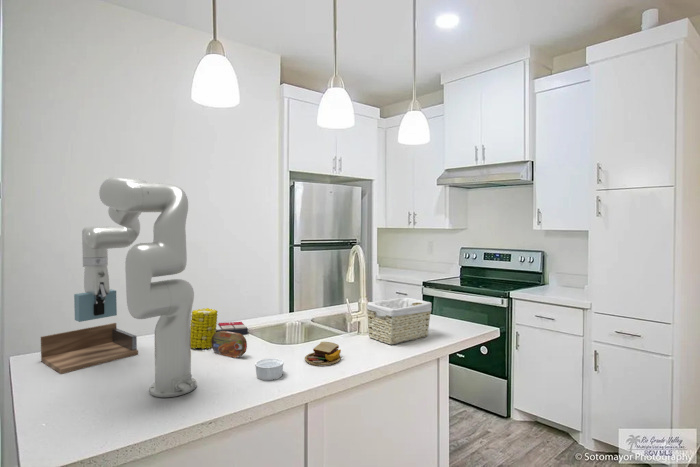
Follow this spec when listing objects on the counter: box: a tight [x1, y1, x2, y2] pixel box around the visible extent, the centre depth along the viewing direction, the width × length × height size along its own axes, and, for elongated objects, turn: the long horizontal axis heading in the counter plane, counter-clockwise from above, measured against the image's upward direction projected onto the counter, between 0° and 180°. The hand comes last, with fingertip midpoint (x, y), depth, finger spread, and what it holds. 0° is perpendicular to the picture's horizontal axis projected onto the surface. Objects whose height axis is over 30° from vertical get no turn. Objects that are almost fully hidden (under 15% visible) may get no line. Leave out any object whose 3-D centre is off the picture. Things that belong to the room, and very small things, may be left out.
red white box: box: [216, 321, 249, 336], centre depth 178 cm, size 11×4×15 cm
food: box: [190, 307, 218, 350], centre depth 160 cm, size 15×12×10 cm
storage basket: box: [366, 296, 433, 345], centre depth 174 cm, size 24×16×15 cm
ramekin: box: [254, 357, 285, 381], centre depth 131 cm, size 9×9×4 cm
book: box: [73, 288, 118, 323], centre depth 147 cm, size 4×12×9 cm, turn 142°
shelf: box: [40, 322, 139, 375], centre depth 146 cm, size 18×24×8 cm
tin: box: [211, 331, 248, 359], centre depth 150 cm, size 15×3×8 cm, turn 62°
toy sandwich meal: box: [304, 341, 342, 366], centre depth 146 cm, size 12×14×5 cm
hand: (96, 313), depth 147 cm, fingers closed on book, 4 cm apart
